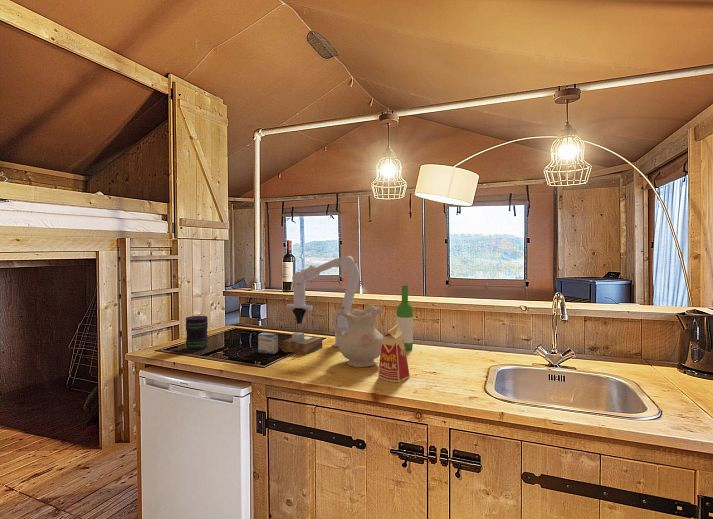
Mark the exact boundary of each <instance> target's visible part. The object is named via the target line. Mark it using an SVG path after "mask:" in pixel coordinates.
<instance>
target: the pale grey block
mask: <svg viewBox="0 0 713 519" xmlns="http://www.w3.org/2000/svg"><path fill="white" fill-rule="evenodd" d="M304 335H305V333H304V332H300V331H297V332H293V333H291V338H292V342H298V343H299V342H302V341H304Z"/></svg>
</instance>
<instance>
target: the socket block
mask: <svg viewBox="0 0 713 519" xmlns="http://www.w3.org/2000/svg"><path fill="white" fill-rule="evenodd" d="M306 336H307V337H313V338H310V339H304V341H302V342H299V343H298V342H292V337H289V338H287V339H284V340H282V342H281V343H282V344H281V352H282V351H284V352H283V353H288V352H293V353H292V354H295V355H302V356H307V355H309V354H311V353H314V352H317V351H319V350H321V349H323V337H320V336H311V335H306V334H304V337H306Z"/></svg>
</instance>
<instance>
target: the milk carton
mask: <svg viewBox="0 0 713 519" xmlns="http://www.w3.org/2000/svg"><path fill="white" fill-rule="evenodd" d="M406 351H407V350H405V344H404V339H403V334H402V331H401V330H400V329H399V328H398V324H397V323H396V324H395V325H394V326H393V327H392V328H391V329H389V330H388V331H387V333H386V334H385V335H383V340H382V346H381V353H380V356H379V363H378V373H377V374H378V376H377V378H378V379H381V380H384V381H386V382H388V381H390V382H389V383H397V382H398V383H401V382H403V381H405V379H406V380H408V379H410V378H411V376H410V370H409V368H410V367H409V363H408V362H409V361H408V356H407V352H406ZM407 378H408V379H407ZM402 380H403V381H402ZM398 383H397V384H398Z"/></svg>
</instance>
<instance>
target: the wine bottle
mask: <svg viewBox="0 0 713 519" xmlns="http://www.w3.org/2000/svg"><path fill="white" fill-rule="evenodd" d="M396 324H398V328H399V329H400V330H401V331H402V334H403V339H404V344H405V350H406V351H410V350H411V349H413V346H414V344H413V343H414V342H413V341H414V340H413V339H414V309H413V307H412V305H411V304H410V303H409V286H408V285H401V302H400V303H399V305H397V308H396Z"/></svg>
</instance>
